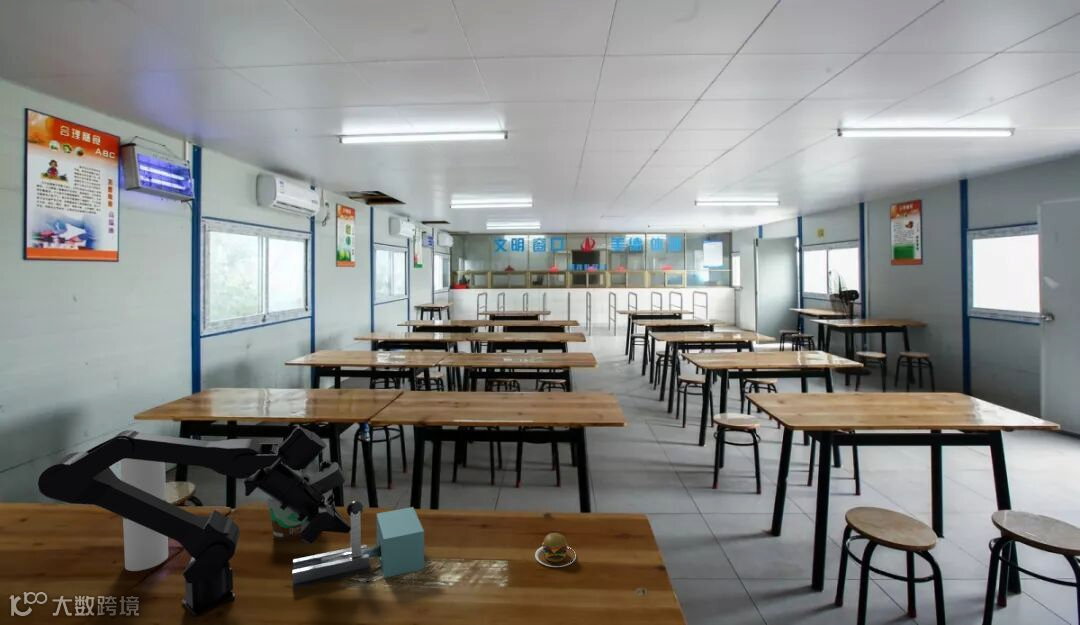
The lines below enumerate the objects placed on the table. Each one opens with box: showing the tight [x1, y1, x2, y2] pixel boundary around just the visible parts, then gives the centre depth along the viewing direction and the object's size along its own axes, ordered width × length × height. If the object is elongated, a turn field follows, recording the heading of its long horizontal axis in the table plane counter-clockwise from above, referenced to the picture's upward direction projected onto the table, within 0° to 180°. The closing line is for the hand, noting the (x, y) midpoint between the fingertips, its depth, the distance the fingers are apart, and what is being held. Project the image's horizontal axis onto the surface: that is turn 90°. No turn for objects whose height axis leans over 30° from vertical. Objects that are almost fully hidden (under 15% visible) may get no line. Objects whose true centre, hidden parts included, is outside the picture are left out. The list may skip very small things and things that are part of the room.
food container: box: [265, 496, 308, 541], centre depth 115 cm, size 12×6×10 cm, turn 143°
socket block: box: [376, 506, 425, 579], centre depth 105 cm, size 8×12×8 cm, turn 25°
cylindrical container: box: [120, 458, 169, 572], centre depth 103 cm, size 7×7×25 cm
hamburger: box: [534, 532, 577, 568], centre depth 107 cm, size 12×12×6 cm
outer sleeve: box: [292, 544, 370, 590], centre depth 100 cm, size 14×5×3 cm, turn 115°
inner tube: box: [321, 500, 381, 564], centre depth 101 cm, size 12×3×13 cm, turn 115°
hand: (349, 530), depth 101 cm, fingers closed, pressing on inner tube
